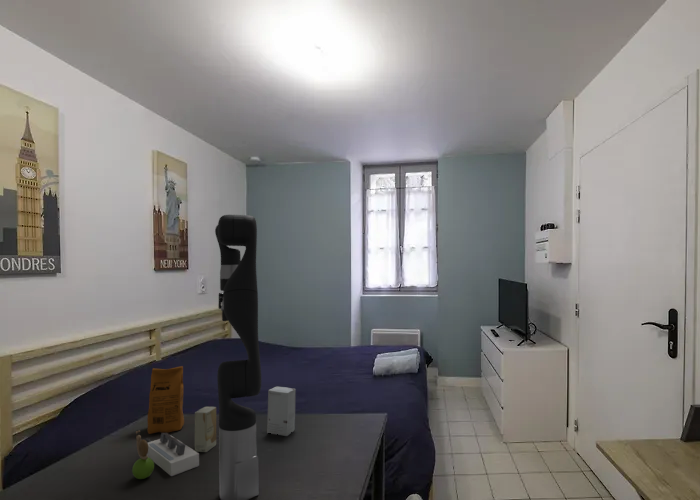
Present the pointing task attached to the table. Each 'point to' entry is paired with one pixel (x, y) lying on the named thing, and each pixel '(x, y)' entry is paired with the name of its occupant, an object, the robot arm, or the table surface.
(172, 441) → the breaker paddles
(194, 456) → the strip
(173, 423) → the coffee package
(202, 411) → the skincare box
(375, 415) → the table surface
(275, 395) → the skincare box
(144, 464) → the snail figurine
